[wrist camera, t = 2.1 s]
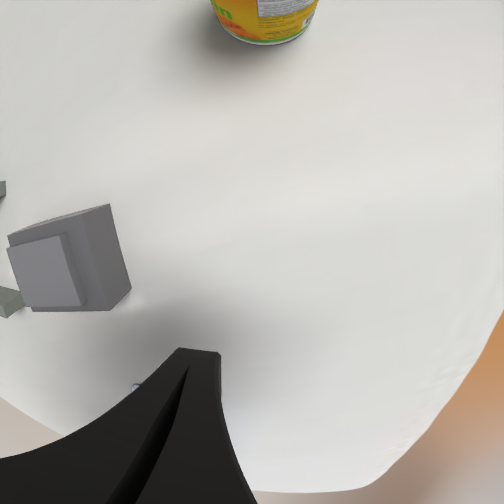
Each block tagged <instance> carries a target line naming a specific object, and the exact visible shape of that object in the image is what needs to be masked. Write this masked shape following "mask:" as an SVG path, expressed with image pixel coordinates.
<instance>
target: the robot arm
mask: <svg viewBox="0 0 504 504" xmlns="http://www.w3.org/2000/svg"><path fill="white" fill-rule="evenodd" d="M0 504H257V502H256V500H255V498H254V496H253V494H252V492H251V490H250V488H249V486H248V484H247V481H246V479H245V477H244V475H243V473H242V470H241V468H240V465H239V463H238V460H237V458H236V455H235V452H234V449H233V446H232V443H231V440H230V437H229V433H228V430H227V426H226V422H225V418H224V414H223V409H222V403H221V355H220V354H219V353H218V352H211V351H202V350H194V349H187V348H178V349H176V350H175V351H174V352H173V353H172V354H171V355H170V356H169V358H168V359H167V360H166V361H165V362H164V363H163V364H162V365H161V366H160V367H159V368H158V369H157V370H156V371H155V372H154V373H153V374H152V375H150V376H149V377H148V378H147V379H146V380H145V381H144V382H143V383H142V384H141V385H140V386H139V385H133V387H132V393H130V394H129V395H128V396H127V397H125V398H124V399H123V400H122V401H121V402H119V403H118V404H117V405H116V406H114V407H113V408H112V409H110V410H109V411H107V412H106V413H105V414H103V415H102V416H100V417H99V418H97V419H96V420H94V421H92V422H91V423H89V424H88V425H86V426H84V427H82V428H81V429H79V430H77V431H75V432H73V433H72V434H70V435H68V436H66V437H64V438H62V439H59V440H57V441H55V442H52V443H50V444H47V445H45V446H42V447H40V448H37V449H35V450H32V451H29V452H25V453H22V454H18V455H14V456H10V457H5V458H0Z"/></svg>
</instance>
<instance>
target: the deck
mask: <svg viewBox="0 0 504 504" xmlns="http://www.w3.org/2000/svg"><path fill="white" fill-rule="evenodd" d="M4 195H6V189H5V181H2V182H0V196H4ZM24 304H25V303H24V300H23V298H22V295H21V292H20V291H16V290H12V289H9V288H5V287H1V286H0V316H2V317H4V318H8V317H9V316H11V315H12V314H13V313H14V312H16V311H17V310H18V309H19V308H21V307H22V306H23V305H24Z"/></svg>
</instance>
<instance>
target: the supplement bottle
mask: <svg viewBox="0 0 504 504" xmlns="http://www.w3.org/2000/svg"><path fill="white" fill-rule="evenodd" d="M211 3H212V5H213V7H214V10H215V12H216V15H217V17H218V19H219V21H220V23H221V25H222V26H223V28H224V29H225V30H226V31H227V32H228V33H229V34H231V35H232V36H234V37H235V38H237V39H239V40H241V41H244V42H247V43H251V44H256V45H274V44H280V43H284V42H287V41H290V40H292V39H294V38H296V37H297V36H299V35H300V34H301V33H302V32H304V31H305V29H306V28H307V27H308V26H309V24H310V22H311V20H312V18H313V15H314V12H315V9H316V6H317V3H318V0H211Z"/></svg>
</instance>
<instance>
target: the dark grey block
mask: <svg viewBox="0 0 504 504" xmlns="http://www.w3.org/2000/svg"><path fill="white" fill-rule="evenodd" d="M7 236H8V240H9V244H10V247H9V248H7V249H6V250H7V253H8V257H9V260H10V263H11V266H12V269H13V273H14V276H15V278H16V281H17V284H18V287H19V290H20V292H21V295H22V298H23V300H24V303H25V305H26V307H31V309H32V311H33V312H77V311H111V309H112V308H113V307H114V306H115V305H116V304H117V303H118V302H119V301H120V300H121V299H122V298H123V297H124V296H125V295H126V293H127V292H128V291H129V290H130V289H131V288H132V287H131V283H130V280H129V277H128V273H127V270H126V267H125V263H124V260H123V256H122V252H121V249H120V245H119V241H118V237H117V233H116V229H115V225H114V220H113V216H112V212H111V207H110V204H106V205H102V206H98V207H94V208H90V209H86V210H82V211H78V212H75V213H71V214H67V215H64V216H60V217H57V218H53V219H50V220H46V221H43V222H40V223H36V224H33V225H31V226H28V227H26V228H24V229H21V230H19V231H17V232H14V233H12V234H10V235H7Z"/></svg>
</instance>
